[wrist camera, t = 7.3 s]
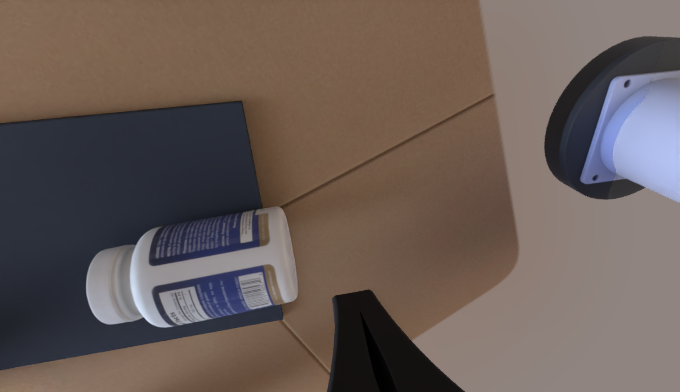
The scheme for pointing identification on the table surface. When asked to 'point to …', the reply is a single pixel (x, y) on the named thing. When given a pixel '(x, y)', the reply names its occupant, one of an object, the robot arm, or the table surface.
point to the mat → (108, 216)
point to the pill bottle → (196, 271)
